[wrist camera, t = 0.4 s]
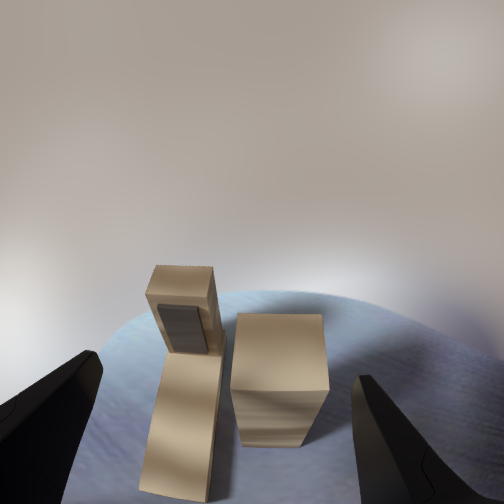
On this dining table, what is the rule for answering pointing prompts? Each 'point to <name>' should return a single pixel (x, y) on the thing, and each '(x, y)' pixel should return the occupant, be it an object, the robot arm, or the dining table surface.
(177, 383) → the rail
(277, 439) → the tan wooden block
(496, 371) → the dining table surface
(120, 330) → the dining table surface
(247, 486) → the dining table surface
